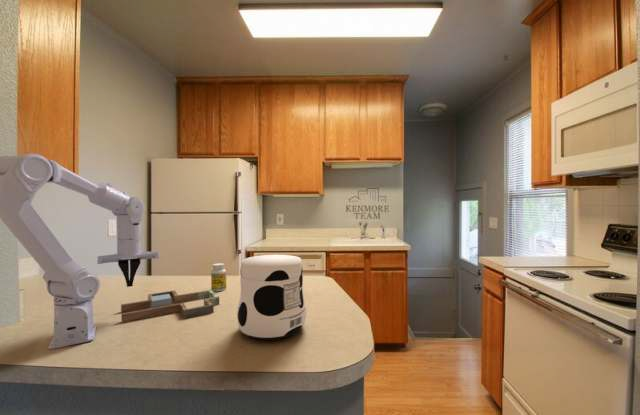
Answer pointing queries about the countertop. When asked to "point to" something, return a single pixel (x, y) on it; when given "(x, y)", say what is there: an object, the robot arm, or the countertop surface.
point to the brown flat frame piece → (170, 306)
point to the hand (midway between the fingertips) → (129, 285)
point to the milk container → (271, 297)
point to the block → (160, 300)
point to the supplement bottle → (218, 277)
